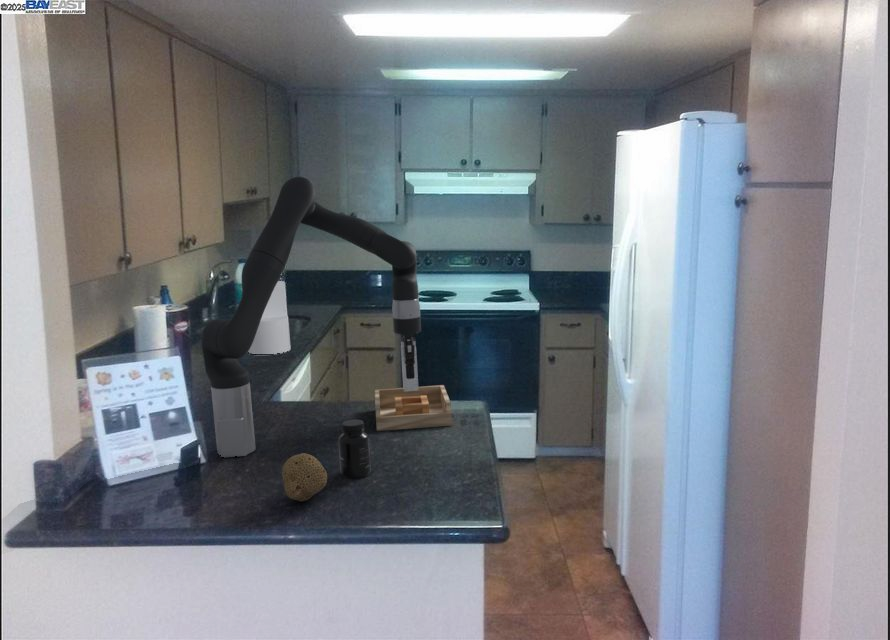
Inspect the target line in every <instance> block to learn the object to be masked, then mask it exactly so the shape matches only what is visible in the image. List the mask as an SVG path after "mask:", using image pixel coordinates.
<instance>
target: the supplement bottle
mask: <svg viewBox="0 0 890 640" xmlns="http://www.w3.org/2000/svg"><path fill="white" fill-rule="evenodd" d="M341 431H342V434H340V436H339V437H338V454H339V455H338V456H339V470H340V475H341V476H342V477H343V478H344V479H349V480H350V479H351V480H355V479H356V480H357V479H362V478H365V477H367V476H369V475H370V473H371V470H372V468H371V467H372V465H371V450H370V449H371V448H370V437H369V434H368V433H367V432H365V424H364V421H363V420H361V419H350V420H345V421H343V422H342V423H341Z"/></svg>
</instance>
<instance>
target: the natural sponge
mask: <svg viewBox="0 0 890 640" xmlns="http://www.w3.org/2000/svg"><path fill="white" fill-rule="evenodd" d="M281 475H282V482H283V488H284V492H285V494H286V495H287V497H288V498H289V499H291V500H296V501H298V502H306V501H308V500H310V499H311V498H312V497H313V496H314V495H315V494H317V493H319V492H320V491H322V490H323V489H324V488H325V486H326V485H327V482H328V473H327V471H326V469H325V468H324V466H323V465H322V463H321V462H320V460H318V458H316V457H315V456H314V455H311V454H309V453H305V452H302V453H299V454H296V455H292V456H291V457H290V458H288V459H287V460H286V461H285V462H284V464H283V466H282V468H281Z"/></svg>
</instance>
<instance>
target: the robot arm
mask: <svg viewBox="0 0 890 640" xmlns="http://www.w3.org/2000/svg"><path fill="white" fill-rule="evenodd" d="M316 196H317V195H316V189H315V186H314V184H313V183H312V182H311V181H310V180H309V179H308V178H306V177H303V176H294V177H291V178H290V179H287V180H286V181H285V182H284V184H282V186H281V188H280V191H279V194H278V197H277V200H276V203H275V206H274V207H273V210H272V213H271V215H270V217H269V219H268V221H267V223H266V224H265V226H264V227H263V229H262V231H261V233H260V235H259V236H258V238H257V240H256V241H255V243H254V245H253V247H252V249H251V250H250V253H249V254H248V255H247V258H246V260H245V262H244V265H243V268H242V271H241V299H240V301H239V303H238V306H237V307H236V310H235V312H234V314H233V316H232V317H231V318H230V319H222V318H221V319H220V318H218V319H212V320H210V321H208V323H207V324H206V325H205V326H204V328H203V330H202V335H201V348H202V356H203V363H204V369H205V373H206V375H207V377H208V379H209V382H210V383H209V384H210V391H211V400H212V401H211V402H212V412H213V422H214V431H215V442H216V450H217V454H219V455H218V456H220V455H221V456H220V458H221V457H224V458H234V457H235V456H237V457H246V456H248V455H249V454H251V453H253V452H254V451H256V438H255V436H256V435H255V428H254V427H255V425H254V415H253V406H252V397H251V396H252V395H251V394H252V393H251V384H250V383H251V381H250V374H249V371H248V370H247V369H246V368H245V367H243V366H242V365H241V364H240V362H239V361H238V359H240V358H243V357H244V356H246V354H248V351H249V349H250V347H251V345H252V343H253V341H254V338H255V335H256V332H257V329H258V327H259V324H260V321H261V318H262V315H263V313H264V310H265V308H266V306H267V303H268V301H269V299H270V297H271V294H272V292H273V290H274V288H275V286H276V284H277V282H278V281H280V278H281V276H282V273H283V271H284V270H285V267H286V264H287V263H288V260H289V257H290V254H291V252H292V251H291V250H292V249H293V248H292V247H293V245H294V244H293V243H294V240H295V237H296V233H297V231H298V229H299V226H300V224H304V225H306V226H309V227H312V228H315V229H318V230H320V231H323V232H326V233H328V234H331V235H333V236H336V237H338V238H340V239H342V240H345V241H346V242H348V243H351V244H352V245H355V246H356V247H359V248H360V249H362V250H364V251H366V252H368V253H371V254H373V255H375V256H377V258H380V259H381V260H383V261H384V262H386V263H387V264H389V265H391V268H392V272H391V273H392V282H391V283H392V284H391V285H392V286H391V291H392V306H391V307H392V309H391V310H392V323H393V326H392V328H393V333H394V334H395V335H396V334H397V335H402V337H401V338H400V347H401V346H402V349H403V357H405V366H406V378H407V379H413V378H414V377H415V376H414V364H415V360H414V356H415V355H416V354H415V346H416V344H417V343H416V338H415V337H413V336H414V334H419V333H421V331H422V319H421V318H422V317H421V305H420V301H419V299H420V298H419V297H420V296H419V285H418V279H417V278H418V277H417V271H418V270H417V267H418V264H417V263H418V260H417V259H418V258H417V255H418V254H417V250H416V248H415V246H414V245H413V244H412V243H410V242H409V241H404V240H400V239H398V238H396V237H394V236H392V235H390V234H389V233H387V232H386V231H385V230H383V229H382V228H380V227H378V226H376V225H375V224H373V223H370V222H369V221H368V220H367V221H366V220H365V219H362V218H360V217H356V216H354V215H348V214H342V213H340V212H336V211H332V210H330V209H327V208H326V207H324V206H322V205H321V204H319V203H318V202H317V201H316V198H317V197H316ZM404 348H405V350H404ZM409 357H412V360H407V358H409Z"/></svg>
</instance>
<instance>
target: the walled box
mask: <svg viewBox="0 0 890 640" xmlns="http://www.w3.org/2000/svg"><path fill="white" fill-rule="evenodd" d="M418 389H419V391H407V392H404V389H403V387H396V388H382V389H381V388H380V389H374V399H375V400H374V401H375V405H374V406H375V421H376V431H377V432H381V431H395V430H396V431H398V430H408V429H421V428H422V429H423V428H433V427H436V428H437V427H449V426H450V427H451V426H453V422H452V421H453V417H452V415H453V414H452V406H451V405H452V404H451V400H450V398H449V395H448V393H447V390H446V387H445V385H444V384H440V385H439V384H438V385H426V386H424V385H423V386H418Z"/></svg>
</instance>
